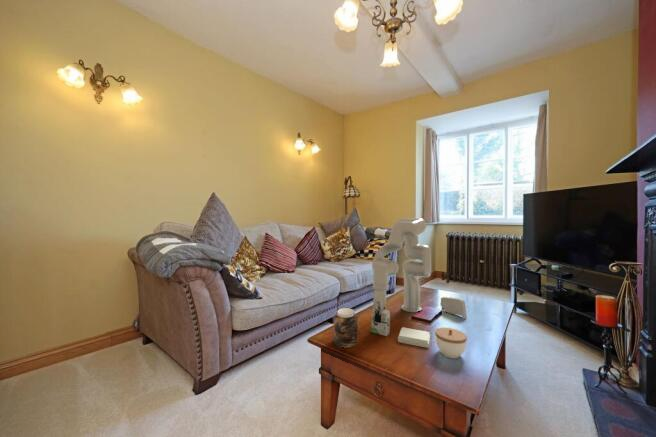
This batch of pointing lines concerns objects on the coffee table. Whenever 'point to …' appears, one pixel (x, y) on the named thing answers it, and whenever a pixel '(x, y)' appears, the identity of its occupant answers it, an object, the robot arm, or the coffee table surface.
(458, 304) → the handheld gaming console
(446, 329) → the lidded bowl
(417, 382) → the coffee table surface
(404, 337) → the stand
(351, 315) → the jar
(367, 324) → the coffee table surface
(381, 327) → the ink box
